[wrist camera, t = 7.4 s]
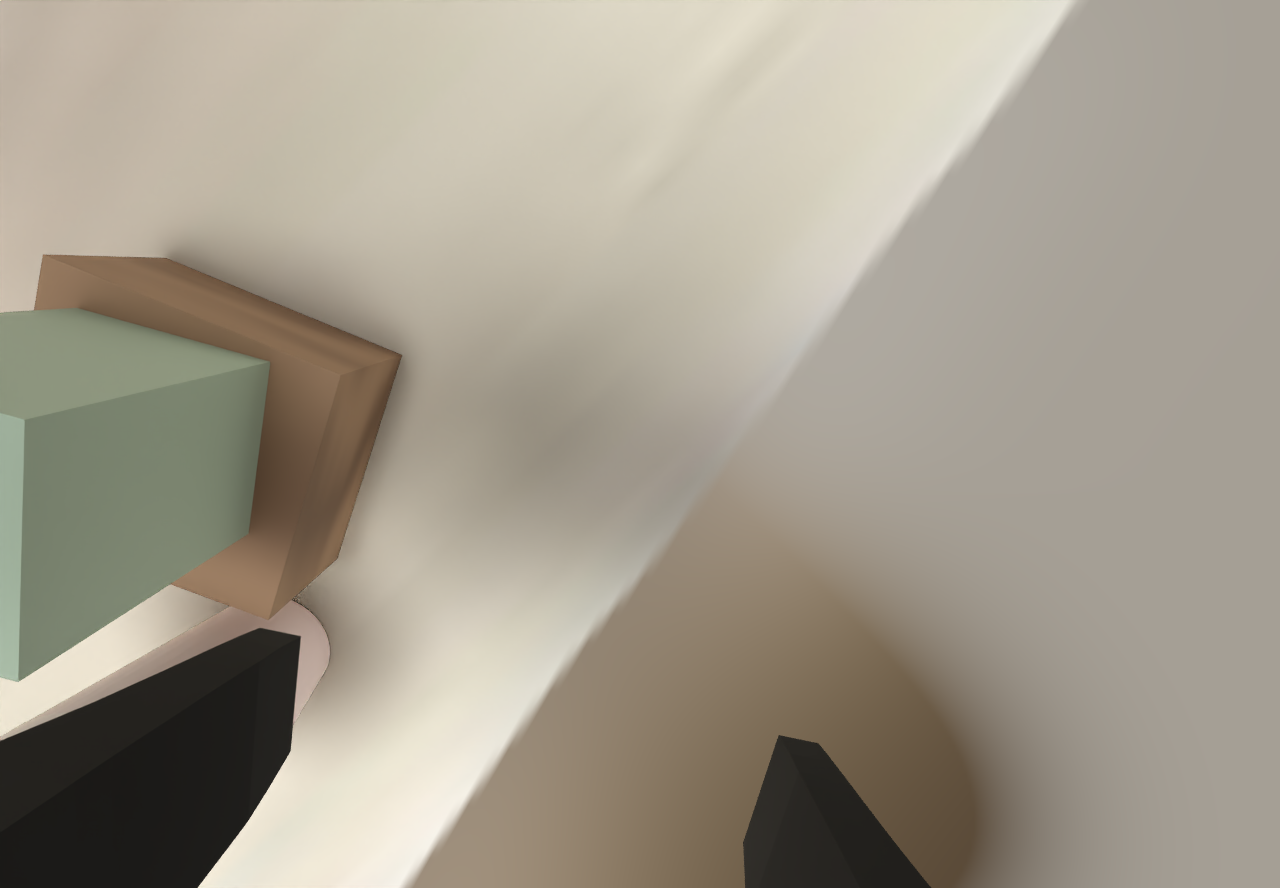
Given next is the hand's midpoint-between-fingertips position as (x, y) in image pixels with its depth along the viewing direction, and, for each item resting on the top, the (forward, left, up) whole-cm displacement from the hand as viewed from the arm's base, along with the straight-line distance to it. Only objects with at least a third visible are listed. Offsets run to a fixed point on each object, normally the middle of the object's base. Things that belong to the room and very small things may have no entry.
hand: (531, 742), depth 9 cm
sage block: (-1, -10, -7) cm, 12 cm away
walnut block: (0, -10, -11) cm, 15 cm away
